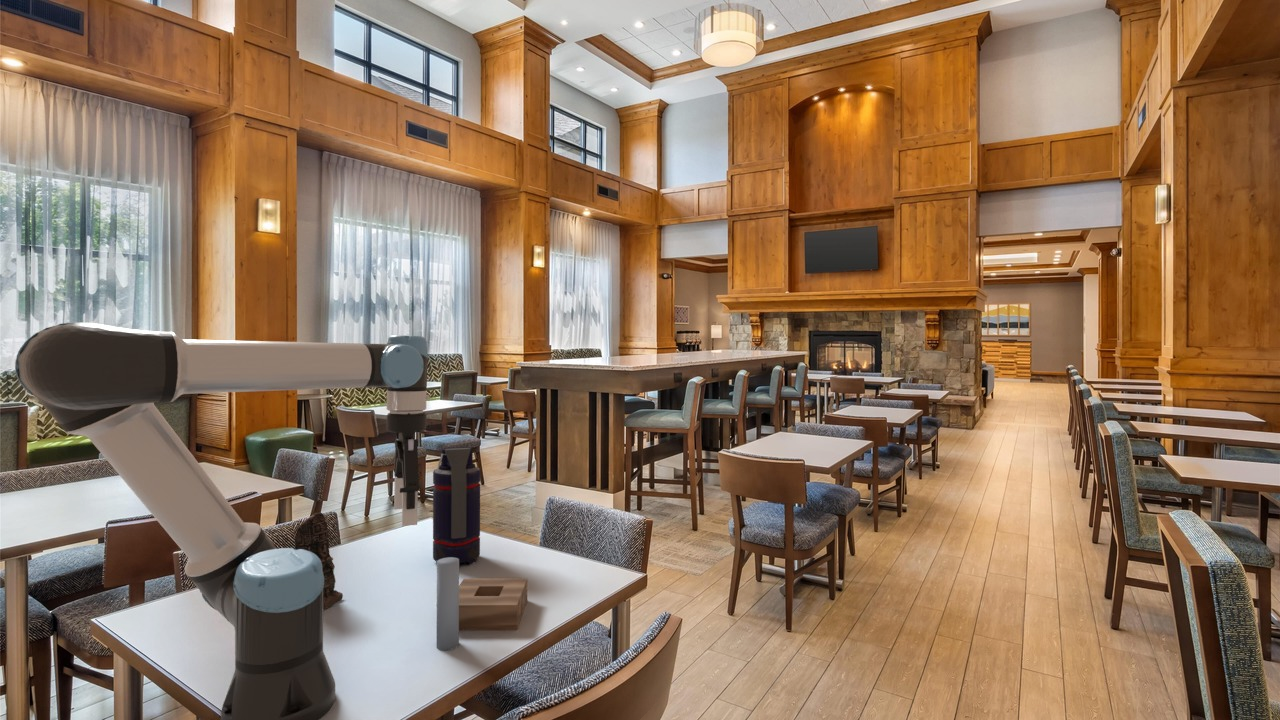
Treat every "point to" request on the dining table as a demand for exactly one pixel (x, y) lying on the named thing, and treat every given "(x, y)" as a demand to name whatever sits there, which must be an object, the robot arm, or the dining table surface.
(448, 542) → the grenade
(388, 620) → the dining table surface
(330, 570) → the statue
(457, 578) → the pin
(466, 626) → the socket block
